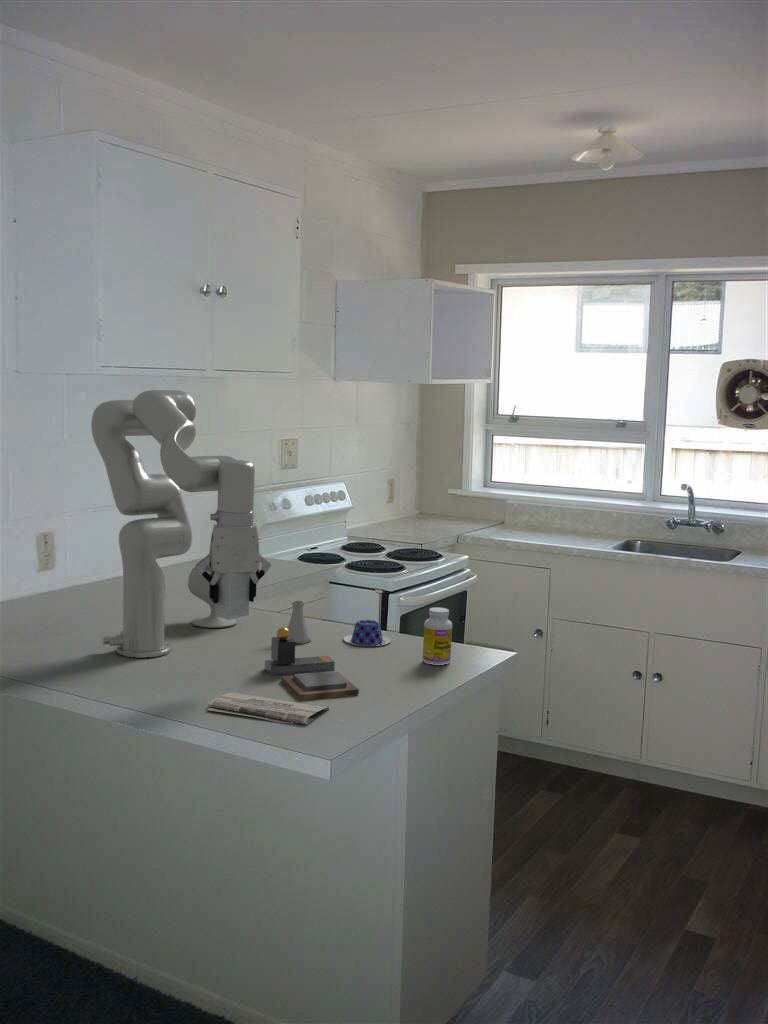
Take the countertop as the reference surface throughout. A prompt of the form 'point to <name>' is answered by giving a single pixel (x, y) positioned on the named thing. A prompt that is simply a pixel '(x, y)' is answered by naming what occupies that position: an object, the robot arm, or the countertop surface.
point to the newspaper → (265, 708)
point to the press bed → (319, 685)
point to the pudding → (366, 634)
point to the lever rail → (301, 665)
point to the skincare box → (233, 595)
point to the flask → (298, 624)
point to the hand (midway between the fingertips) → (232, 600)
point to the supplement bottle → (437, 637)
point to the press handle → (283, 647)
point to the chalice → (201, 590)
